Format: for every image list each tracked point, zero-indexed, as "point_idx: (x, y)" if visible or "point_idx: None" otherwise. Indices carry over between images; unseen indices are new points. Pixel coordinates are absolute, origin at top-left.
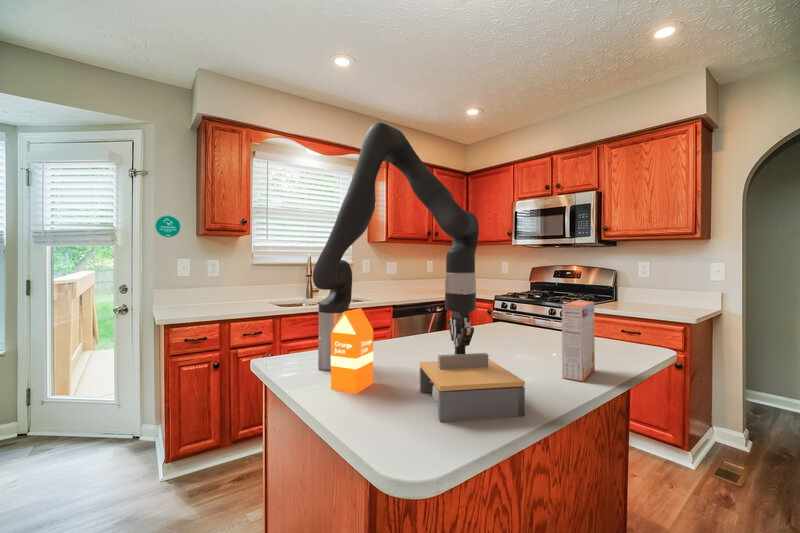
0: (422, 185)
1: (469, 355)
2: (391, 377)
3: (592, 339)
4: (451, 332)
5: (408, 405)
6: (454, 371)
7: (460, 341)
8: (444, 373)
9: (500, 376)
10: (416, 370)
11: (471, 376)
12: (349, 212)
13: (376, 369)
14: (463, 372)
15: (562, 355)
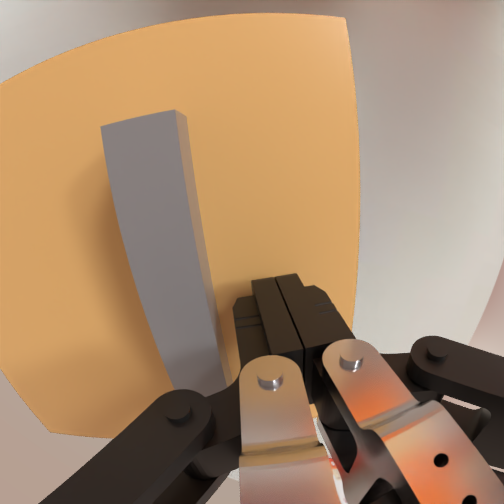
0: None
1: (173, 386)
2: (437, 15)
3: None
4: (492, 387)
5: (128, 10)
6: (91, 226)
7: (120, 443)
8: (46, 155)
9: (70, 402)
10: (490, 125)
11: (28, 302)
12: None
13: (490, 12)
14: (79, 277)
15: (338, 495)
